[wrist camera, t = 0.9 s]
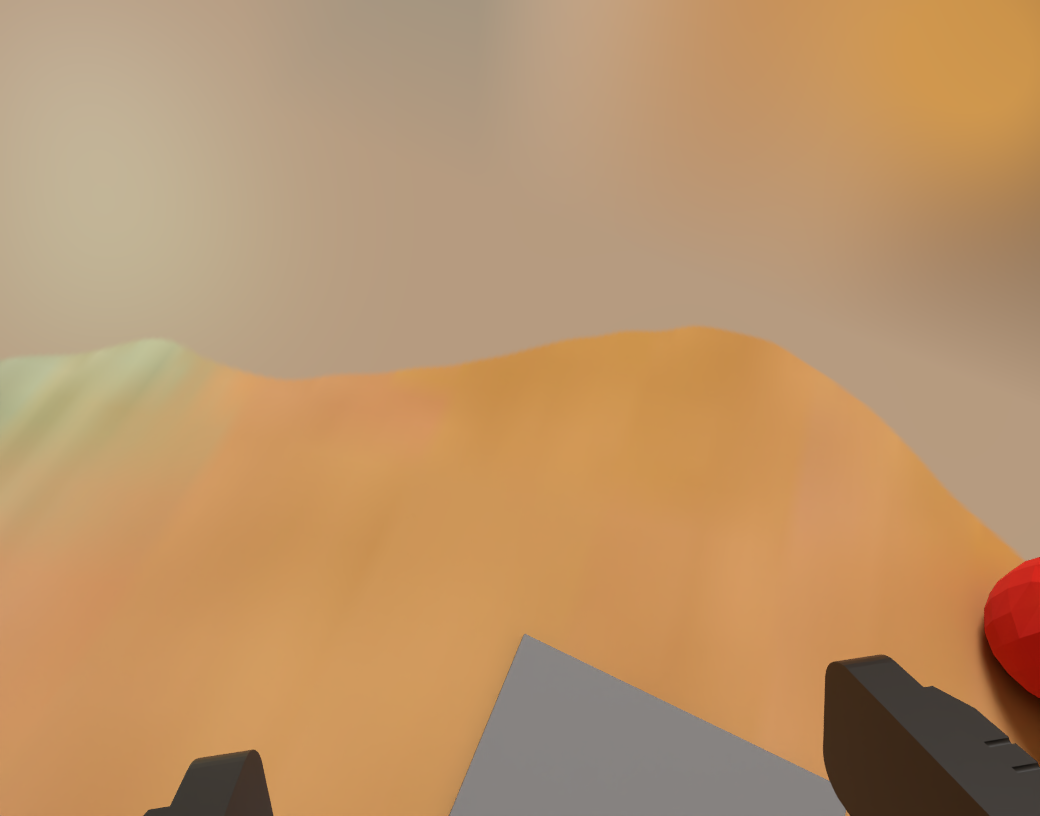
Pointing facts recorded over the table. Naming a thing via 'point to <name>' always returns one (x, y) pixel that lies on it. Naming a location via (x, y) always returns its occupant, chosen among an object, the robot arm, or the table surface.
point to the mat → (619, 754)
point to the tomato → (1017, 624)
